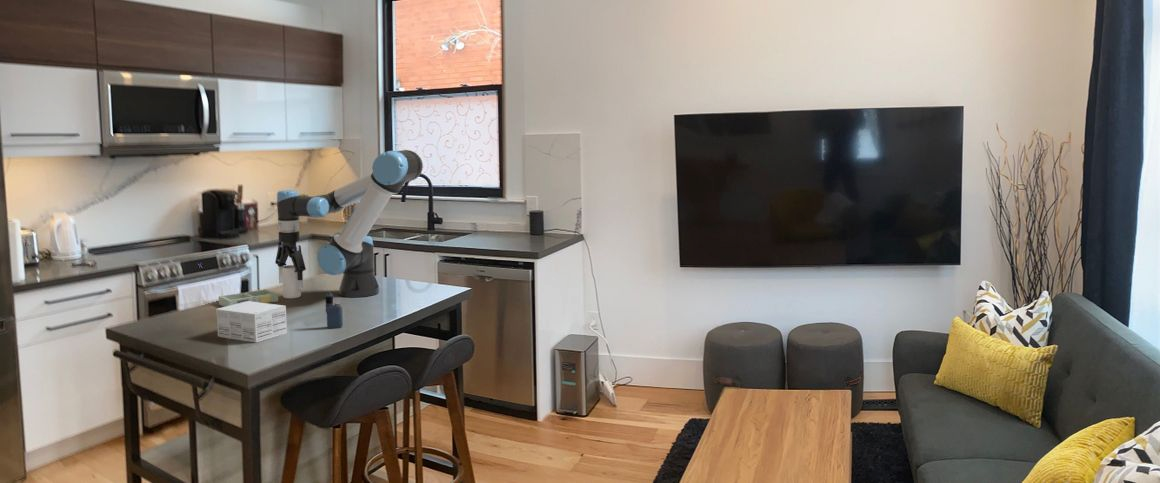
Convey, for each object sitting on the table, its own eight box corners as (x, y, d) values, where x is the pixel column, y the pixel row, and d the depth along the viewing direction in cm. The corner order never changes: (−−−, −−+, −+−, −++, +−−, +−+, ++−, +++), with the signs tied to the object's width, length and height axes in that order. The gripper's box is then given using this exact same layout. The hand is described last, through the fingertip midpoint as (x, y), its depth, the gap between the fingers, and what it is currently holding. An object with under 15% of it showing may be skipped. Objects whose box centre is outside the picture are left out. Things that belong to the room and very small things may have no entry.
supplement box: (288, 333, 261) (286, 305, 260) (256, 343, 249) (254, 313, 248) (250, 327, 268) (248, 299, 267) (217, 337, 256) (215, 308, 255)
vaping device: (327, 326, 269) (325, 291, 267) (343, 326, 270) (342, 290, 268) (325, 328, 267) (324, 292, 265) (342, 328, 267) (340, 292, 265)
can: (303, 295, 316) (302, 265, 314) (296, 299, 309) (295, 268, 307) (288, 295, 316) (286, 264, 314) (280, 298, 310) (278, 267, 308)
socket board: (278, 301, 305) (278, 293, 305) (230, 309, 293) (229, 300, 292) (266, 297, 313) (266, 289, 312) (219, 304, 300) (218, 296, 299)
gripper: (264, 228, 315) (267, 281, 318) (294, 235, 297) (296, 292, 301) (283, 226, 320) (285, 279, 323) (313, 233, 303) (315, 289, 306)
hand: (291, 285), depth 312 cm, fingers open, 13 cm apart
